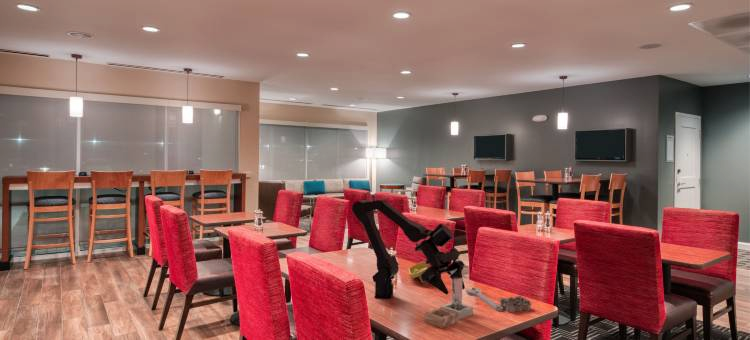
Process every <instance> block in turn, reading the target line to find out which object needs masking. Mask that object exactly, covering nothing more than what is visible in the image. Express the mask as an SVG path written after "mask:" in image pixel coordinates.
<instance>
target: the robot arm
mask: <svg viewBox="0 0 750 340" xmlns="http://www.w3.org/2000/svg"><path fill="white" fill-rule="evenodd" d="M351 210H352V213H353V214H354V216H355V218H356V219H357V221H359V222H360V223H361V224H362V225H363V229H364V231H365V234H366V236H367V237H368V238H367V239H368V241H369V243H370V246H371V247H372V249H373V252H374V254H375V257H376V268H377V269H376V270H377V272H376V273H374V274H373V276H372V281H373V283H375V284H374V287H375V289H374V299H375V298H377V299H388V300H389V299H390V300H391V299H392V297H393V295H394V283H393V280H394V278H395V277H396V275H397V274H398V273H399V269H400V267H399V265H400V264H399V262H398V261H397V258H396V255H391V254H390V253H389V251H388V250H387V247H386V245H385V243H384V240H383V238H382V235H381V233H380V232H379V231H380V230H379V229H378V226H377V224H376V221H375V215H374V214H375V211H379V212H380V213H382V214H383V215H384V216H385V217H387V218H388V219H389V220H390V221H391V222H392V223H394V224H395V225H397V226H398V227H399V228H400V229H401V230H402V231H403V234H404V235H405V237H406V238H407V239H408V240H409V241H410V242H412V243H416V244H415V246H414V252H422V254H423V256H424V258H425V259H426V260H425V261H426V264H428V265H429V267H428V268H427V269H426V270H425V271H424V272H423V273H422V274H421V279H422V280H423V282H425V283H426V284H429V285H430V286H432V287H434V288H435V289H436V290H439V291H440V292H442V293H443V294H445V295H449V290H448V288H447V286H446V285H445V282H444V281H443V279H442V274H446V273H447V274H448V275H449V278H451V280H452V278H453V277H460V278H462V279H463V274H462V273H463V270H464V268H465V266H466V265H465V263H464V261H462V260H460V254H461V253H460V251H459V250H458V249H457V248H456V247H455V248H451V249H449V251H447V252H445V251H440V249H439V248H438V247H441V248H442V247H444V246H446V245H447V244H448V243H449V242H450V241H452V239H454V237H455V235H454V232H453V231H452V230H451V229H450V228H449V227H448V226H447V225H445V224H444V223H442V222H441V223H439V224H438V225H437V226H436V228H434V229H433V230H432V229H428V228H427V227H425V226H424V225H423V224H422V223H421V224H420V223H419V222H417V221H414V220H411V219H409V218H408V217H407V216H405V214H403V213H401V211H399V210H398V209H397V208H395V207H394V206H393V205H391V203H389V202H388V201H387V200H386V199H385V198H380V199H376V200H373V201H369V200H367V199H363V200H358V201H355V202H353V204H352V207H351ZM418 242H420V243H418ZM452 261H453V262H452ZM462 290H466V287H465V283H464V279H463V280H462Z"/></svg>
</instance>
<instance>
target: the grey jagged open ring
mask: <svg viewBox="0 0 750 340" xmlns="http://www.w3.org/2000/svg"><path fill="white" fill-rule="evenodd" d="M498 302H499V305H500V306H501V307H503V310H505V312H507V313H515V312H523V311H531V306H532V304H533V302H530V299H529V300H528V298H527V299H526V298H525V297H523V296H522V295H518V296H514V297H512V296H510V297H506V298H504V297H500V298H499V299H498Z"/></svg>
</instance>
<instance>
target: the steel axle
mask: <svg viewBox="0 0 750 340" xmlns="http://www.w3.org/2000/svg"><path fill="white" fill-rule="evenodd" d="M462 278H463V277H462ZM462 278H460V277H453V278H452V279H451V302H450V303H451V308H452V309H455V310H458V311H459V310H462V304H463V289H462V280H463V281H464V279H462Z"/></svg>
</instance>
